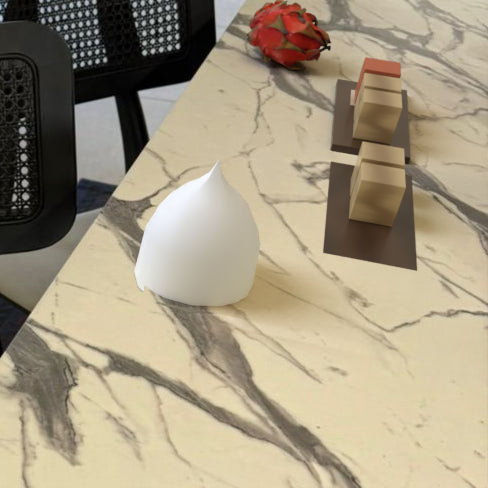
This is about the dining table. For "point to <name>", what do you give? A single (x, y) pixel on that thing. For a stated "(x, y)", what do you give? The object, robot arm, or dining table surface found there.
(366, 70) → the rust red cube
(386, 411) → the dining table surface
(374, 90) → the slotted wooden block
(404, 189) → the grooved block on base
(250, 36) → the dragon fruit
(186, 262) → the teardrop
